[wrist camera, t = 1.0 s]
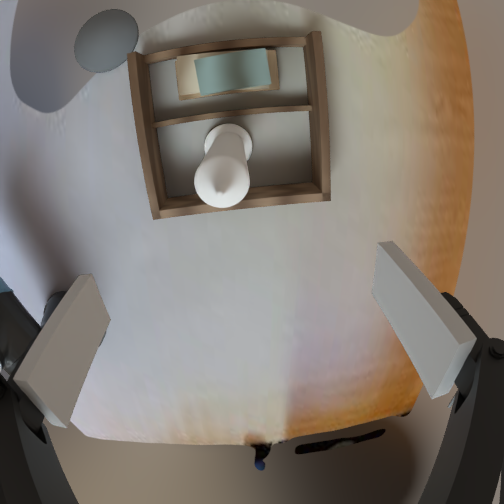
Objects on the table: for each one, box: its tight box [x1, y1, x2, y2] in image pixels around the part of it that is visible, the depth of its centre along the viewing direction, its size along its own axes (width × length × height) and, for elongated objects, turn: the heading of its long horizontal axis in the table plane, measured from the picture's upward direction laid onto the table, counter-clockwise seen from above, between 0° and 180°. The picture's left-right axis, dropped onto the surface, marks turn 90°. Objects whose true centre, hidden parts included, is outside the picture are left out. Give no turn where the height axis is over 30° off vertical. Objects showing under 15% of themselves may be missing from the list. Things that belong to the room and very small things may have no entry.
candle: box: [194, 123, 252, 208], centre depth 32 cm, size 7×7×25 cm
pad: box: [74, 9, 138, 73], centre depth 33 cm, size 11×11×1 cm
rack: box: [127, 31, 331, 220], centre depth 38 cm, size 25×24×6 cm
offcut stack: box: [175, 48, 280, 101], centre depth 35 cm, size 14×6×6 cm, turn 95°
